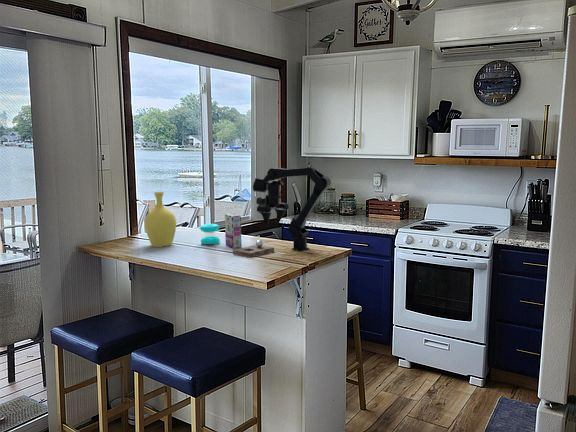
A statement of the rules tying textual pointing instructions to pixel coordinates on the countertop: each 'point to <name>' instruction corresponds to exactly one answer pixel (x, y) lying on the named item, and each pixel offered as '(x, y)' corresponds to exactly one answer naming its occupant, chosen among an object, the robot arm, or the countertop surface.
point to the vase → (160, 224)
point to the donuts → (210, 238)
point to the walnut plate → (253, 251)
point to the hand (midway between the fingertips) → (272, 224)
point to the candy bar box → (233, 230)
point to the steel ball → (259, 243)
